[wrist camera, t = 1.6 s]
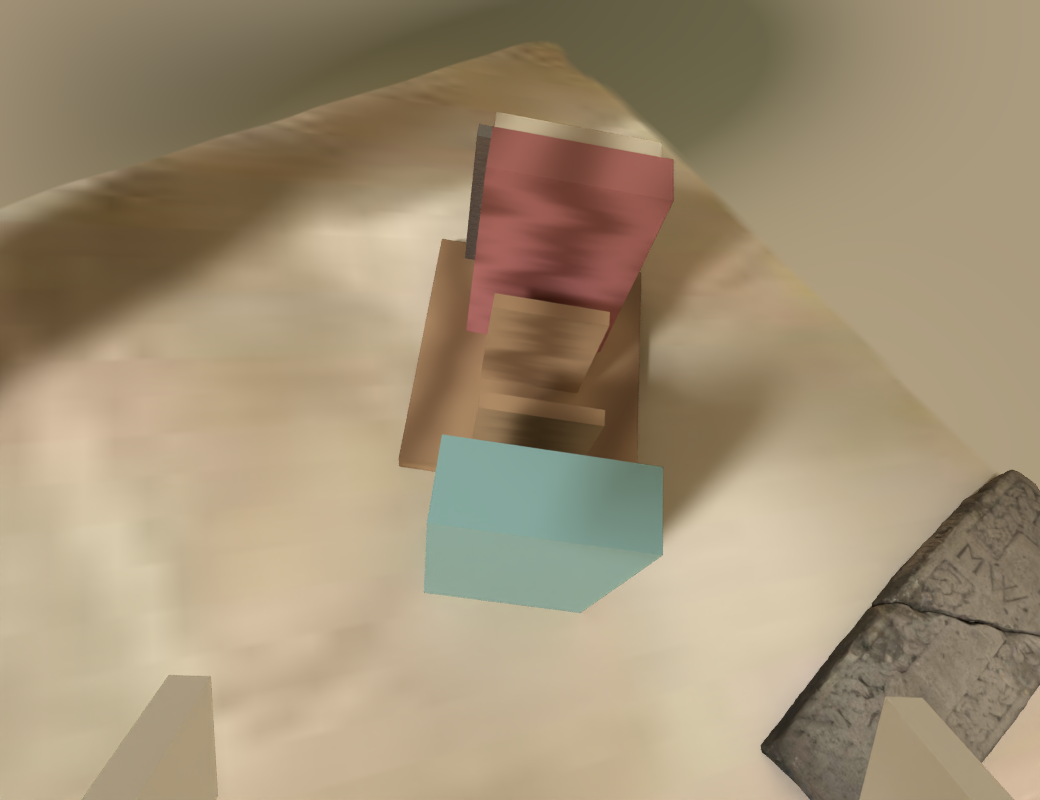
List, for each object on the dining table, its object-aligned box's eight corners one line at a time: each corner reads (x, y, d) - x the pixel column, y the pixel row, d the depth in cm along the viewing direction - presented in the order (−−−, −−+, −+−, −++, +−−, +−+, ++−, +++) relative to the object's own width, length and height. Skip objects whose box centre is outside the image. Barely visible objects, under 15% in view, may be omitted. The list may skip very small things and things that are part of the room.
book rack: (399, 466, 45) (389, 328, 29) (441, 251, 53) (451, 54, 38) (629, 499, 46) (737, 383, 31) (635, 283, 55) (722, 106, 39)
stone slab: (758, 735, 39) (1027, 451, 49) (736, 732, 42) (994, 465, 52) (892, 901, 36) (1147, 564, 46) (858, 885, 39) (1105, 572, 49)
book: (424, 592, 42) (427, 522, 27) (434, 530, 43) (441, 434, 29) (580, 612, 42) (662, 555, 28) (584, 550, 44) (663, 467, 30)
